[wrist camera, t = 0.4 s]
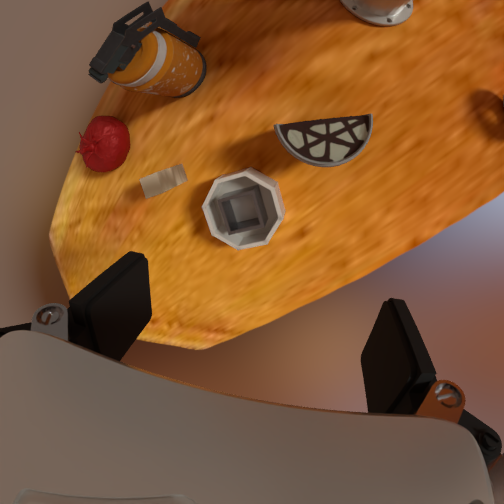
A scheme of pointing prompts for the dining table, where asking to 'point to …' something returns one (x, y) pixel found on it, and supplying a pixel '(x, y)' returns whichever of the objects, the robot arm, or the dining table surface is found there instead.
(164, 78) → the canister
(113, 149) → the pomegranate
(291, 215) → the dining table surface
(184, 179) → the grey rectangular block
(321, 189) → the dining table surface
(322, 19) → the dining table surface
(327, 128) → the food container
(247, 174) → the white octagonal tray
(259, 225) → the hollow square tube
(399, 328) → the robot arm
